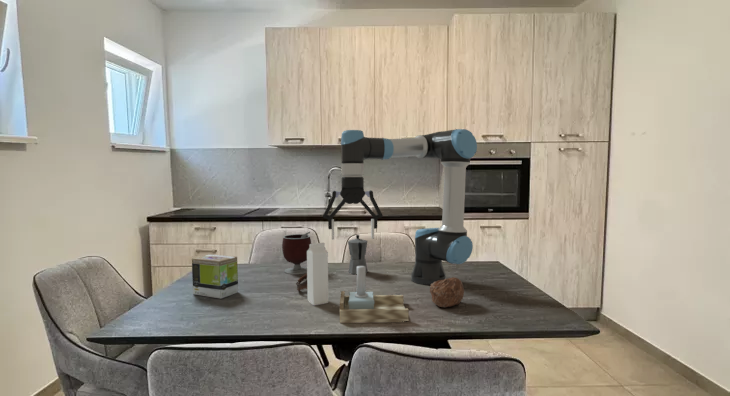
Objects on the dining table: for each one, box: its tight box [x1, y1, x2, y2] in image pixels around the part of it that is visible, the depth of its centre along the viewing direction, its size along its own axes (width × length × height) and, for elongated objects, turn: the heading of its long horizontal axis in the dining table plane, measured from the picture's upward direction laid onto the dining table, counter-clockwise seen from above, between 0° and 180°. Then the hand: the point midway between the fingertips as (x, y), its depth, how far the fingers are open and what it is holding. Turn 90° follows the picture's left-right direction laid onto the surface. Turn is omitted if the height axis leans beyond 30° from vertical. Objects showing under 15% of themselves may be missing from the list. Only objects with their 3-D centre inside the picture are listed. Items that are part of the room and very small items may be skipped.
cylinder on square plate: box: [348, 266, 374, 309], centre depth 132 cm, size 8×10×15 cm
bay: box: [339, 290, 410, 324], centre depth 134 cm, size 22×18×6 cm
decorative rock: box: [429, 276, 465, 308], centre depth 140 cm, size 13×11×10 cm
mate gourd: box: [281, 231, 312, 275], centre depth 189 cm, size 16×14×20 cm
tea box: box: [191, 253, 239, 299], centre depth 156 cm, size 15×10×15 cm, turn 65°
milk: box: [306, 242, 329, 306], centre depth 144 cm, size 6×6×22 cm
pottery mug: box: [295, 273, 307, 292], centre depth 159 cm, size 12×10×8 cm
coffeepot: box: [347, 234, 368, 275], centre depth 185 cm, size 15×9×18 cm, turn 9°
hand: (352, 238), depth 134 cm, fingers open, 13 cm apart
